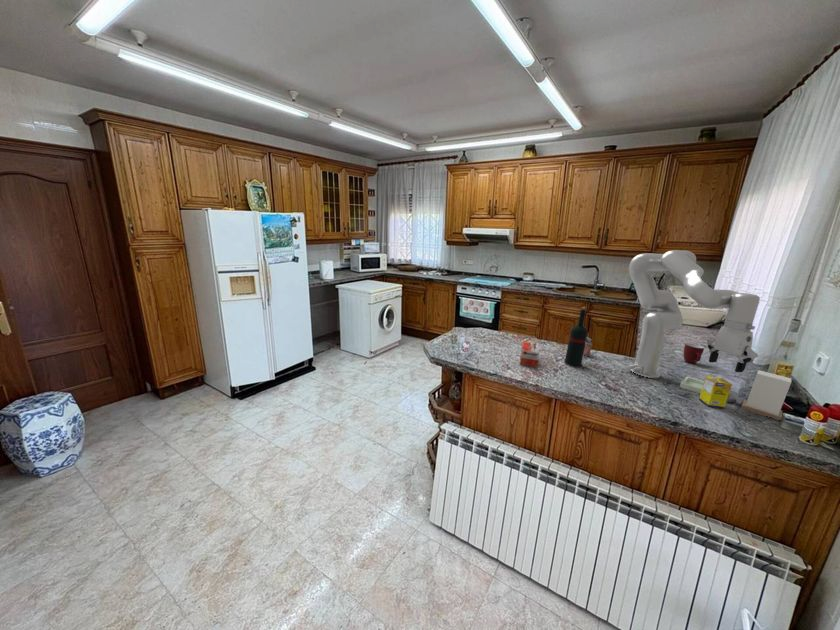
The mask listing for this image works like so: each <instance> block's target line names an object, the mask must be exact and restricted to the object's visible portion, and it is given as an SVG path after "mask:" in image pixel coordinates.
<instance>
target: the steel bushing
mask: <svg viewBox="0 0 840 630" xmlns="http://www.w3.org/2000/svg"><path fill="white" fill-rule="evenodd" d="M738 397H739V393H737V392H735V391H732V390H730V392H729V395H728V398H727V401H726V404H731V405H736V404H737V400H738Z"/></svg>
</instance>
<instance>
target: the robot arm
mask: <svg viewBox="0 0 840 630" xmlns="http://www.w3.org/2000/svg"><path fill="white" fill-rule="evenodd" d="M668 271H669V272H670V273H671V274H672V275H673V276H675V277H676V278H677V279H678V280H679V281H680V282H681V283H682V284H683V288H684V290H685V293H686V294H687V295H688V296H689V297H690V298H691V299H692V300H693V301H695V302H696V303H697V304H698V305H700V306H702V307H703V308H706V309H711V310H712V309H713V310H714V309H728V310H727V313H726V316H725V320H724V324H723V325H722V326H721V327H720V329H718V330H719V331H718V333H717V334H716V337H715V338H712V339H707V340H706V344H707V348H708V350H709V351H708V352H709V359H708V362H709V363H717V362H718V358H719V352H722V353H726V354H728V355H730V356H734V357H736V358H737V360H738V362H736V366H735V368H734V372H736V373H744V371H745V369H746V366H747V364H749V363H750V362H751V363H752V362H753V361H755V359H756V358H758V357H759V354H758V353H757V352H755V351H754V350H753V349H752V346H753V342H754V341H753V339H754V332H753V330H755V328H756V327H755V325H754V319H755V317H756V314H757V310H758V307H759V305H760V300H761V299H760V296H759V295H757V294H753V293H746V292H739V291H734V290H730V289H713V288H712V287H711V286H710V285H709V284H707V283H706V282H705V281H704V280H703V279H702V276H703V275H704V272H705V271H704V269H703V268H702V267H701V266H700V265H699V264H698V263H697V257H696V255H695V253H694V252H691V251H689V250H684V249H683V250H681V249H680V250H679V249H672V250H668V251H666V252H664V253H652V252H651V253H648V252H644V253H640V254H639V253H638V254H637V255H635V256H634V257H633V258H632V259H631V261H630V262H629V266H628V275H629V277H630V279H631V281H632V283H633V285H634V289H635V292H636V295H637V298H638V300H639V304H640V306H641V307H642V308H643V309H644V310H648V311H649V310H652V311H650V312H648V313H647V314H645V316H643V318H642V330H641V331H642V332H641V337H640V341H639V344H638V350H637V353H636V357H635V361H634V362H633V363H632V364H627V365H626V366H625V368H626V369H627V370H629V371H630V370H631V371H632V373H633V372H634V373H636V374H635V375H637V374H638V375H637V376H639V375H641V376H640V377H642V376H644V377H643V378H646V377H648V378H647V379H659V378H661V377H660V376H661V373H659V372H658V369H659V366H660V362H661V358H662V354H663V351H664V347H665V344H666V335H665V332H667V331H668V332H669V331H670V332H671V331H677V330H679V329H680V328H681V327H682V325H683V322H684V319H683V314H682V312H681V310H680V306H679V305H678V302H677V301H678V300H677V299H676V297H675V295H674V294H673V293H672V292H670V291H669V290H665V289H659V288H658V286H657V283H656V280H655V279H654V277H653V276H652V275H651V274H650V273H649V272H668ZM653 310H654V311H653ZM655 310H656V311H655ZM631 371H630V372H631ZM634 373H633V374H634Z"/></svg>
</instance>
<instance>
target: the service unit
mask: <svg viewBox="0 0 840 630" xmlns="http://www.w3.org/2000/svg"><path fill="white" fill-rule="evenodd" d="M791 384H792V378H791V377H787V376H783V375H780V374H775V373H771V372H766V371H763V370H760V369H758V370H757V372H756V375H755V379H754V381H753V383H752V386H751V389H750V392H749V394H748V397H747V399H745V398H744V399H743V402H742V405H741V407H740V409H741V410H743V411H748V412H750V413H751V412H752V413H753V414H757V415H759V416H763V417H766V416H768V417H767V418H769V417H772V418H774V419H773V420H775V419H778V420H781V421H782V419H783V410H782V407H783V405H784V402H785V400H786V396H787V394H788V391H789V389H790V387H791ZM772 418H771V419H772ZM778 420H777V421H778Z"/></svg>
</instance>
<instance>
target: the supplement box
mask: <svg viewBox="0 0 840 630" xmlns="http://www.w3.org/2000/svg"><path fill="white" fill-rule="evenodd" d="M732 387H733V384H732V383H731V382H729V381H728V380H726V379H725V378H723V377H714V376H709V375H707V376H705V379H704V385H703V388H702V391H701V394H699V397H698V398H699V399H698V400H700V401H701V402H702V403H703V404H704V405H705V406H707V407H708V408H709V407H710V408H716V409H717V408H718V409H722V410H723V409H725V407H726V404H727V403H726V401H727V398H728V395H729V392H730V391H731V389H732Z"/></svg>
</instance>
